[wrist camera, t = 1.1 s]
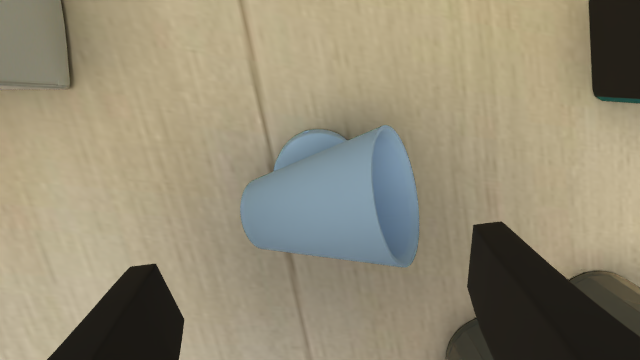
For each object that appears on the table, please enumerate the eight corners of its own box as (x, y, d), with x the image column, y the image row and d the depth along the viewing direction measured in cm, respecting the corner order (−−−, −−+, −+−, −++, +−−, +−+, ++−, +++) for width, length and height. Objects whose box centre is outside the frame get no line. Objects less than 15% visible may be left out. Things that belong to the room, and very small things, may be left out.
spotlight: (378, 105, 22) (249, 142, 22) (428, 124, 12) (197, 189, 12) (400, 195, 23) (277, 229, 23) (463, 279, 13) (249, 334, 14)
